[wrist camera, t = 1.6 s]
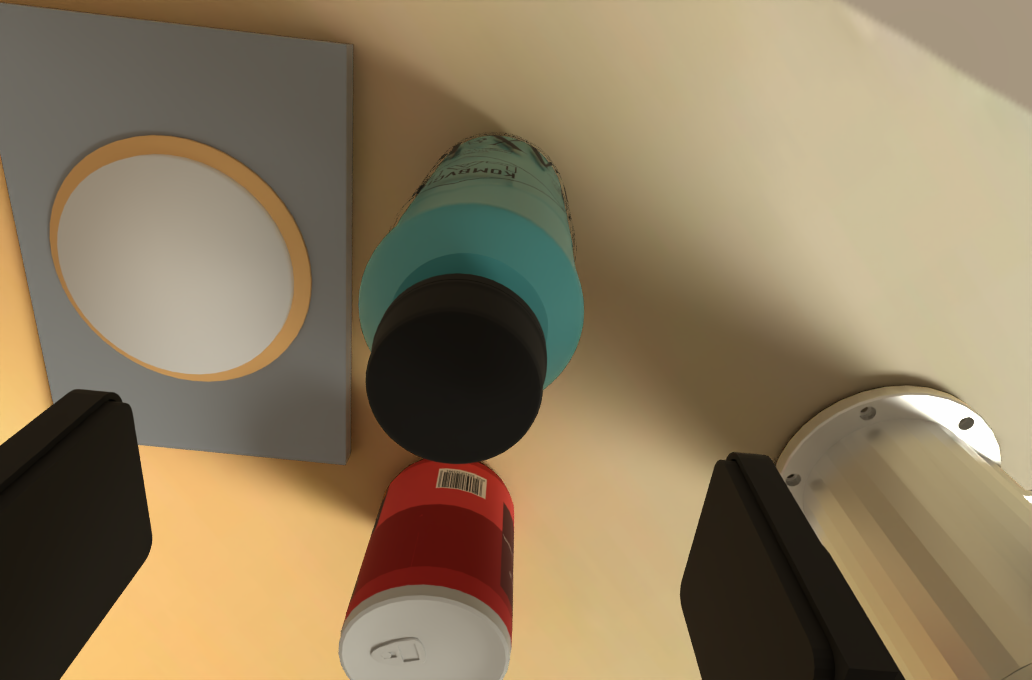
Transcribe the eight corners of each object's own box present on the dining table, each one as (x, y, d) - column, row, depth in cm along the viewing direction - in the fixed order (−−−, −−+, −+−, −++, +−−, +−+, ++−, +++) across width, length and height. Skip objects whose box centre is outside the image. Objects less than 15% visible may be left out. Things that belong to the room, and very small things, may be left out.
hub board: (353, 44, 29) (340, 44, 27) (350, 453, 38) (341, 475, 36) (-12, 0, 29) (-52, -3, 27) (73, 425, 38) (48, 447, 36)
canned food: (360, 478, 39) (304, 628, 29) (480, 431, 38) (464, 572, 28) (421, 567, 42) (388, 731, 32) (534, 527, 41) (537, 686, 31)
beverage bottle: (585, 222, 32) (663, 450, 14) (470, 281, 34) (405, 558, 16) (524, 98, 30) (524, 184, 12) (402, 167, 31) (235, 339, 13)
